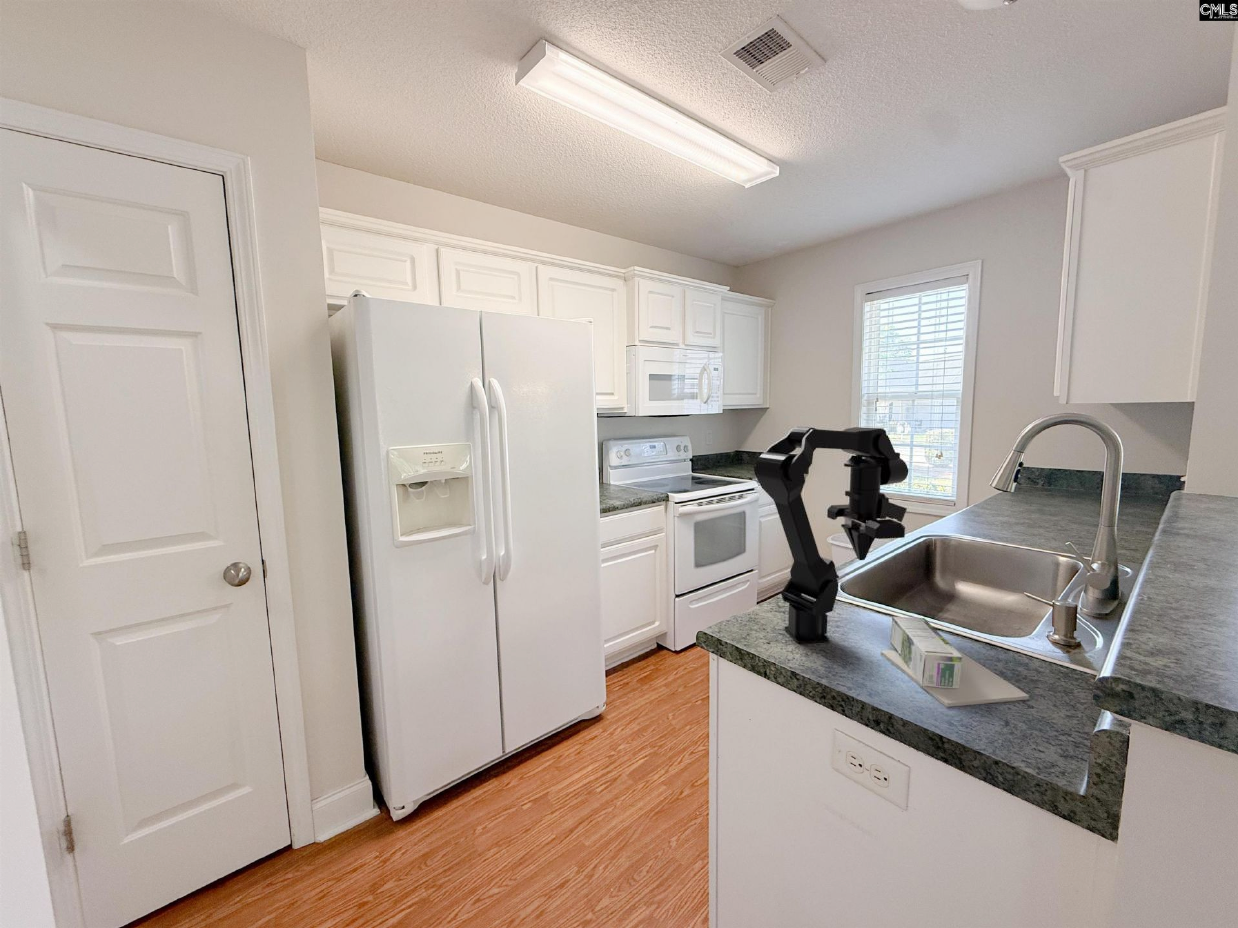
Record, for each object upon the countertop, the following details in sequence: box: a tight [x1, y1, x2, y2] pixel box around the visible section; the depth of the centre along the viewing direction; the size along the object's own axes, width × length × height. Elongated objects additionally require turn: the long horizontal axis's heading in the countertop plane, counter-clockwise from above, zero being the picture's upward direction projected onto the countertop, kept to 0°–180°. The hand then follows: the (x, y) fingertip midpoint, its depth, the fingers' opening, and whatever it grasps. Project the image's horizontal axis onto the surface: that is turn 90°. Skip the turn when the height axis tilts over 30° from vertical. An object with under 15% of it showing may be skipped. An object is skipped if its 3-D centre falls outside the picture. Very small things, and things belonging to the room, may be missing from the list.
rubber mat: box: [880, 649, 1030, 708], centre depth 85 cm, size 14×16×1 cm
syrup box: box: [890, 616, 962, 688], centre depth 87 cm, size 6×6×14 cm
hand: (861, 559), depth 106 cm, fingers closed
